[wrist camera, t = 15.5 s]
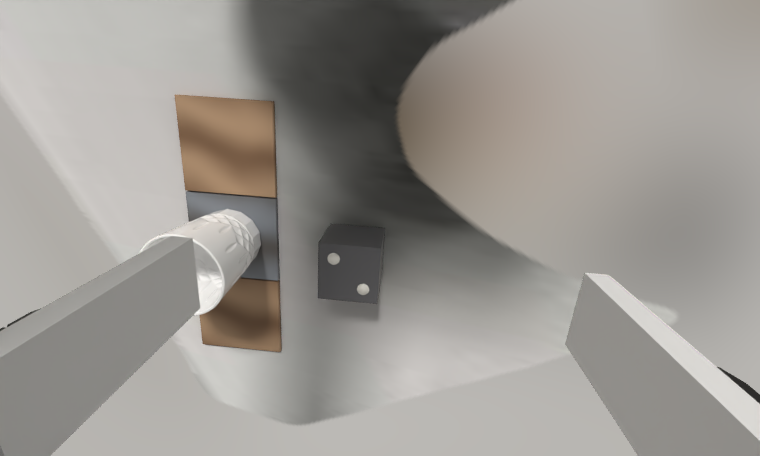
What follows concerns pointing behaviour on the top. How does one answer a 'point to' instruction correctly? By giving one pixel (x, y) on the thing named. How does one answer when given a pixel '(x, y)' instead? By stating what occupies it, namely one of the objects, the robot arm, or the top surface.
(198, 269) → the white cup
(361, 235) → the die
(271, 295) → the board
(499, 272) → the top surface
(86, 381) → the robot arm
